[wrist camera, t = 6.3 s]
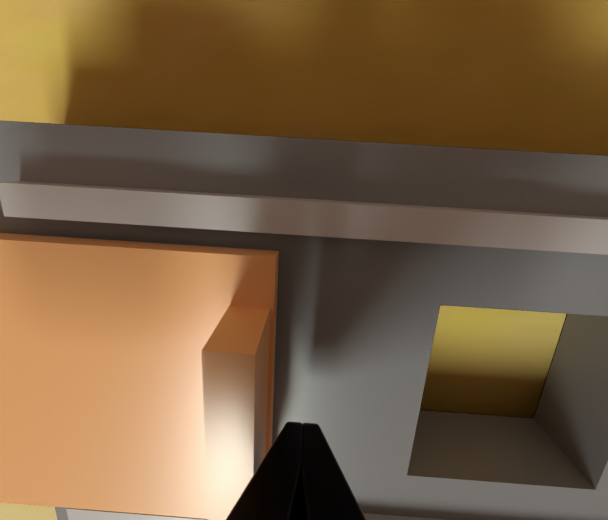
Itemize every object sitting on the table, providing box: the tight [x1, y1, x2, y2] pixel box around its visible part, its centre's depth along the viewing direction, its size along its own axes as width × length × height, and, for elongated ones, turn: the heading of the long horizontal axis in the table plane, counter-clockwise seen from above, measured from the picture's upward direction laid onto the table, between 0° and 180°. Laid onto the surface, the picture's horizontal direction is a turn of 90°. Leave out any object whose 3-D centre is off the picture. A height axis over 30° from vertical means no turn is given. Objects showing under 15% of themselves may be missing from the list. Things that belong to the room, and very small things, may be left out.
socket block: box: [0, 121, 608, 520], centre depth 11 cm, size 22×14×4 cm, turn 87°
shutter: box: [0, 233, 279, 520], centre depth 8 cm, size 9×9×3 cm
